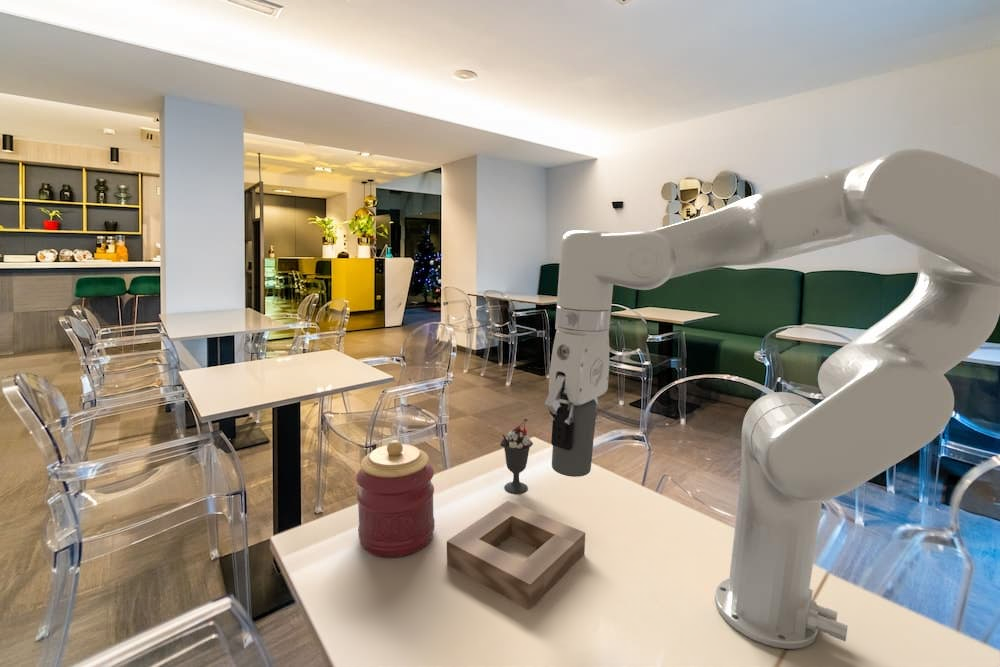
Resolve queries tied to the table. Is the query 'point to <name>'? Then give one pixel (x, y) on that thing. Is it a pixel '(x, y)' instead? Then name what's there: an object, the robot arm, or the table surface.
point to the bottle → (577, 442)
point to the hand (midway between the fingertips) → (573, 439)
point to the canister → (395, 500)
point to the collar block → (508, 573)
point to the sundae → (516, 457)
